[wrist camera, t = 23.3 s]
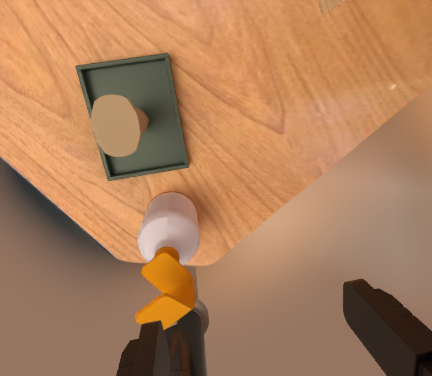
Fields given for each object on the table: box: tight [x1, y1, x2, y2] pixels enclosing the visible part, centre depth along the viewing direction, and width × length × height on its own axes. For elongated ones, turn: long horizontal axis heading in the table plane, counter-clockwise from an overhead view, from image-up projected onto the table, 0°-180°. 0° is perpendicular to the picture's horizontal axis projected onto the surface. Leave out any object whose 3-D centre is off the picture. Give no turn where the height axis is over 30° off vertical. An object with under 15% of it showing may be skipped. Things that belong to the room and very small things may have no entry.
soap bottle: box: [135, 192, 199, 330], centre depth 36 cm, size 9×9×25 cm
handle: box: [91, 95, 149, 157], centre depth 35 cm, size 5×6×15 cm
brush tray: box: [76, 53, 189, 181], centre depth 41 cm, size 17×13×2 cm
